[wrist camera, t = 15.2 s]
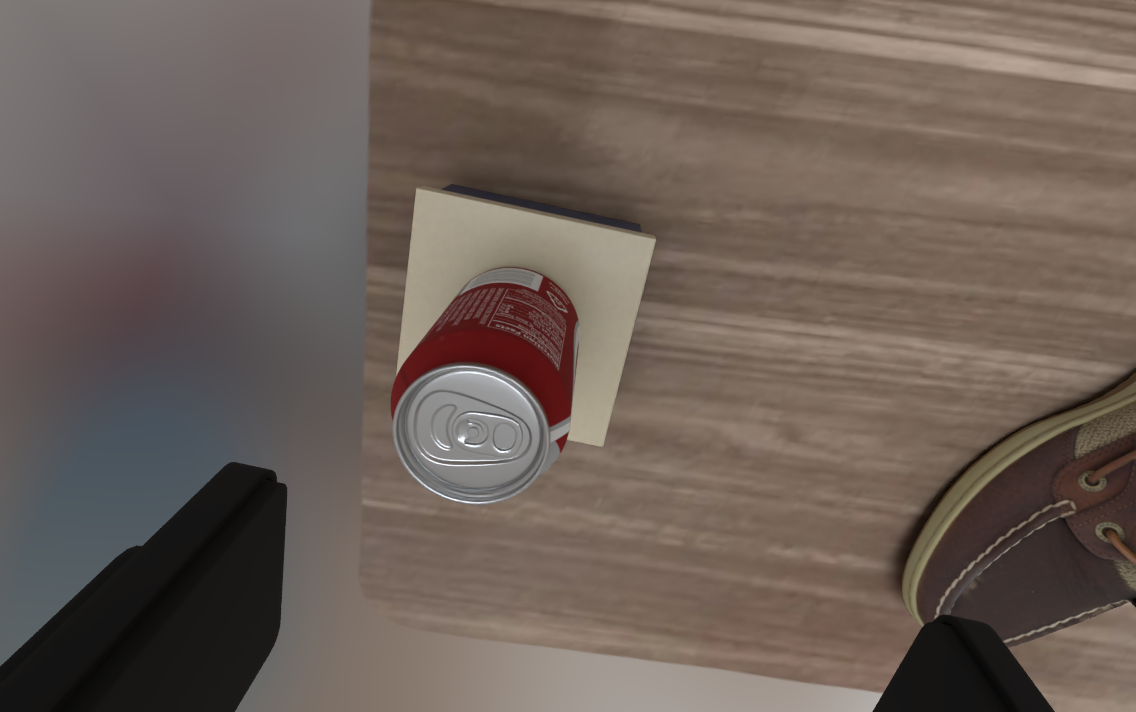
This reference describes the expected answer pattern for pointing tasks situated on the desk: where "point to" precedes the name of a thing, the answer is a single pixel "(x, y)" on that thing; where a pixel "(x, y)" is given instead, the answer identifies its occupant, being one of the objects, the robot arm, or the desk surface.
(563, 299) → the soda can
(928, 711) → the robot arm
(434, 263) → the navy box with lid
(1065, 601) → the boat shoe
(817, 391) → the desk surface
